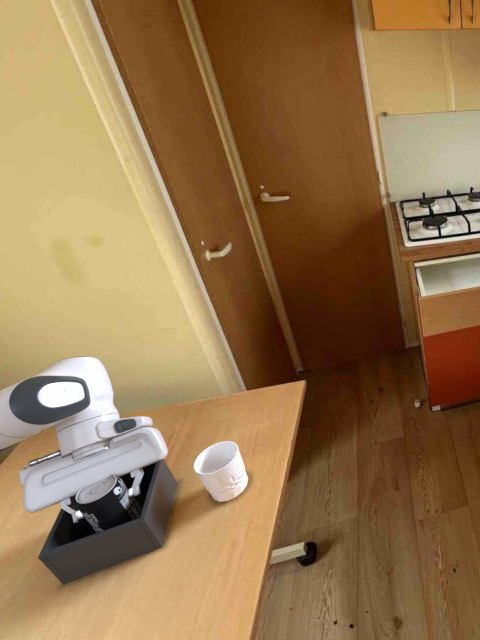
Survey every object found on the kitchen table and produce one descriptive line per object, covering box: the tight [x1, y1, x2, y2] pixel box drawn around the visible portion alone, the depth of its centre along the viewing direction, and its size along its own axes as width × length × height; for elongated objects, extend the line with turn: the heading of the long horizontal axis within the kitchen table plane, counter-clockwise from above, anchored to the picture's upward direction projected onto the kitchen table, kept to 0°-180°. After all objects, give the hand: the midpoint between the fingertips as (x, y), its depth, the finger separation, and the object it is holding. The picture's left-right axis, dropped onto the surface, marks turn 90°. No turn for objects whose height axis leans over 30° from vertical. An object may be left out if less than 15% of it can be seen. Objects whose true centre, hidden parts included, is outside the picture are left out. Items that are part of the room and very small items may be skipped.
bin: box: [37, 459, 178, 585], centre depth 82 cm, size 15×15×9 cm
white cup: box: [192, 440, 249, 503], centre depth 90 cm, size 8×8×10 cm
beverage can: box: [75, 474, 142, 533], centre depth 81 cm, size 7×7×12 cm
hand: (109, 508), depth 80 cm, fingers closed on beverage can, 6 cm apart
